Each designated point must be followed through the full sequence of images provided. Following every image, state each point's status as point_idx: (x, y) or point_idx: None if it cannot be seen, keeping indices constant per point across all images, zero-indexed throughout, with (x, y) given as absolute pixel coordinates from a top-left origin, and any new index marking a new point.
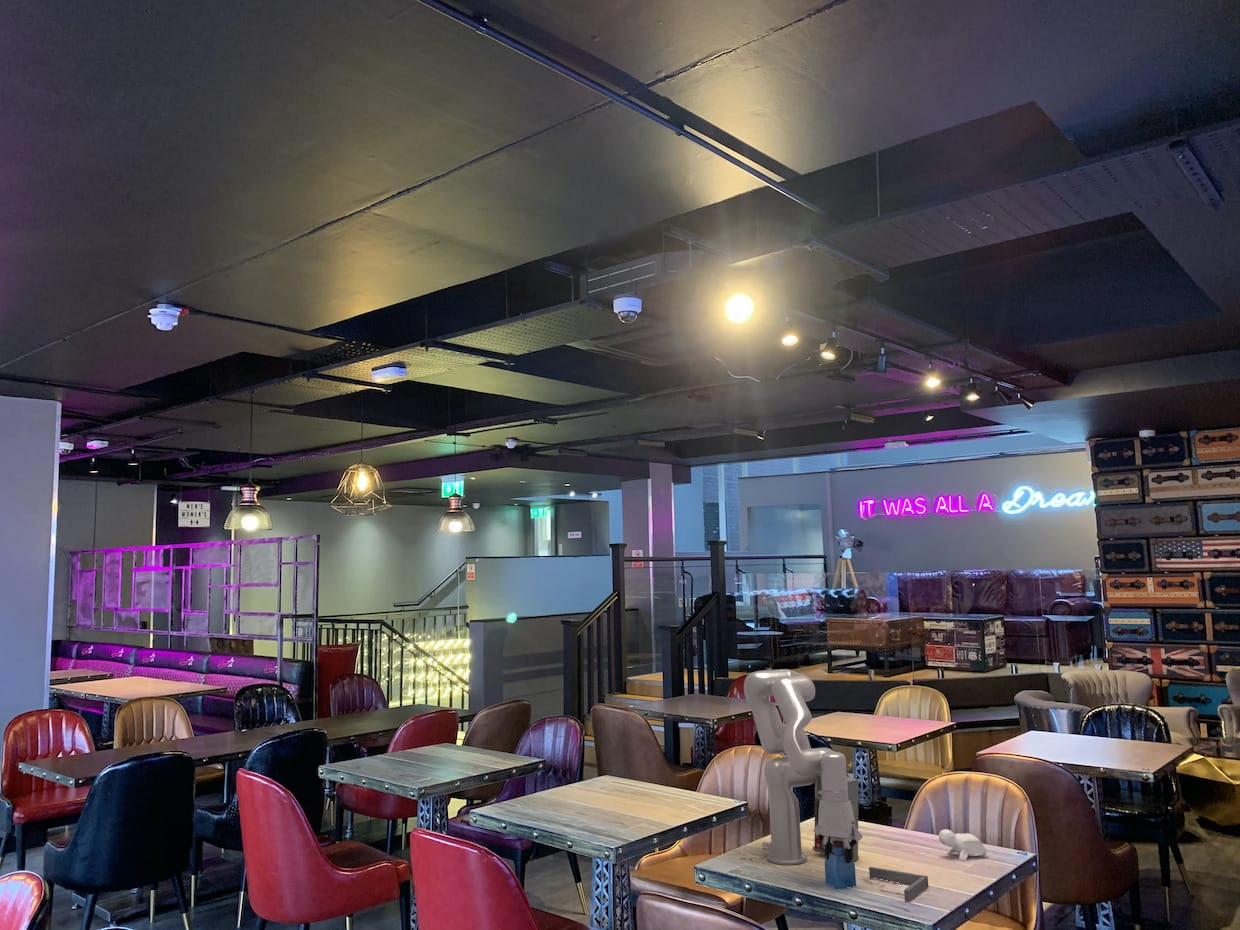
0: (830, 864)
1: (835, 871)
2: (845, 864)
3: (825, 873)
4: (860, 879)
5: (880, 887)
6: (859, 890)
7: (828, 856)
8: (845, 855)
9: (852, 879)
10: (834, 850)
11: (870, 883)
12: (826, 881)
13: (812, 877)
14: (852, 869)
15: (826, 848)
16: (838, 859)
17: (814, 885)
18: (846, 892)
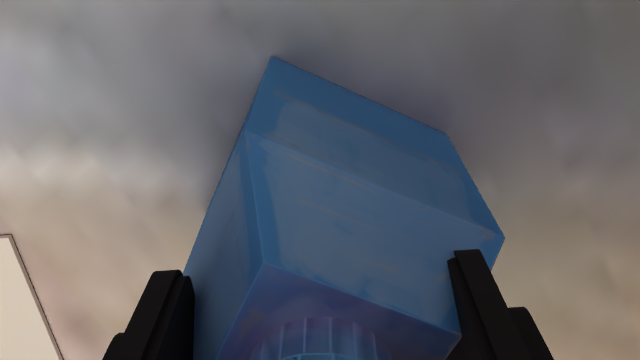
0: (386, 187)
1: (291, 123)
2: (198, 252)
3: (464, 170)
4: None
5: (65, 293)
6: (128, 150)
7: (453, 278)
8: (160, 334)
9: (204, 219)
10: (347, 358)
11: None
12: (440, 137)
13: (613, 205)
14: None
15: (512, 358)
16: (250, 236)
17: (518, 29)
18: (175, 35)
